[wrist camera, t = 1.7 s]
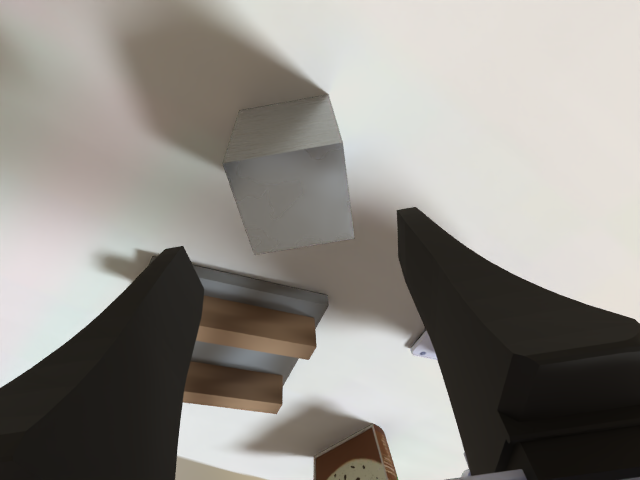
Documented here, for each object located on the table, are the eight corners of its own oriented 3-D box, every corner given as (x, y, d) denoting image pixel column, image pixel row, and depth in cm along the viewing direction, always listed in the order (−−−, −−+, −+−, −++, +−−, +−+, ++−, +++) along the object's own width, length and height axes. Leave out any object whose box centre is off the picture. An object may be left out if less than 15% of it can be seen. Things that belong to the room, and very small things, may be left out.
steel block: (328, 94, 18) (342, 142, 13) (339, 174, 21) (354, 238, 16) (239, 110, 18) (222, 163, 14) (261, 188, 21) (254, 255, 16)
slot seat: (327, 295, 27) (331, 334, 24) (277, 384, 33) (276, 423, 30) (152, 256, 23) (134, 296, 21) (136, 364, 30) (121, 405, 27)
